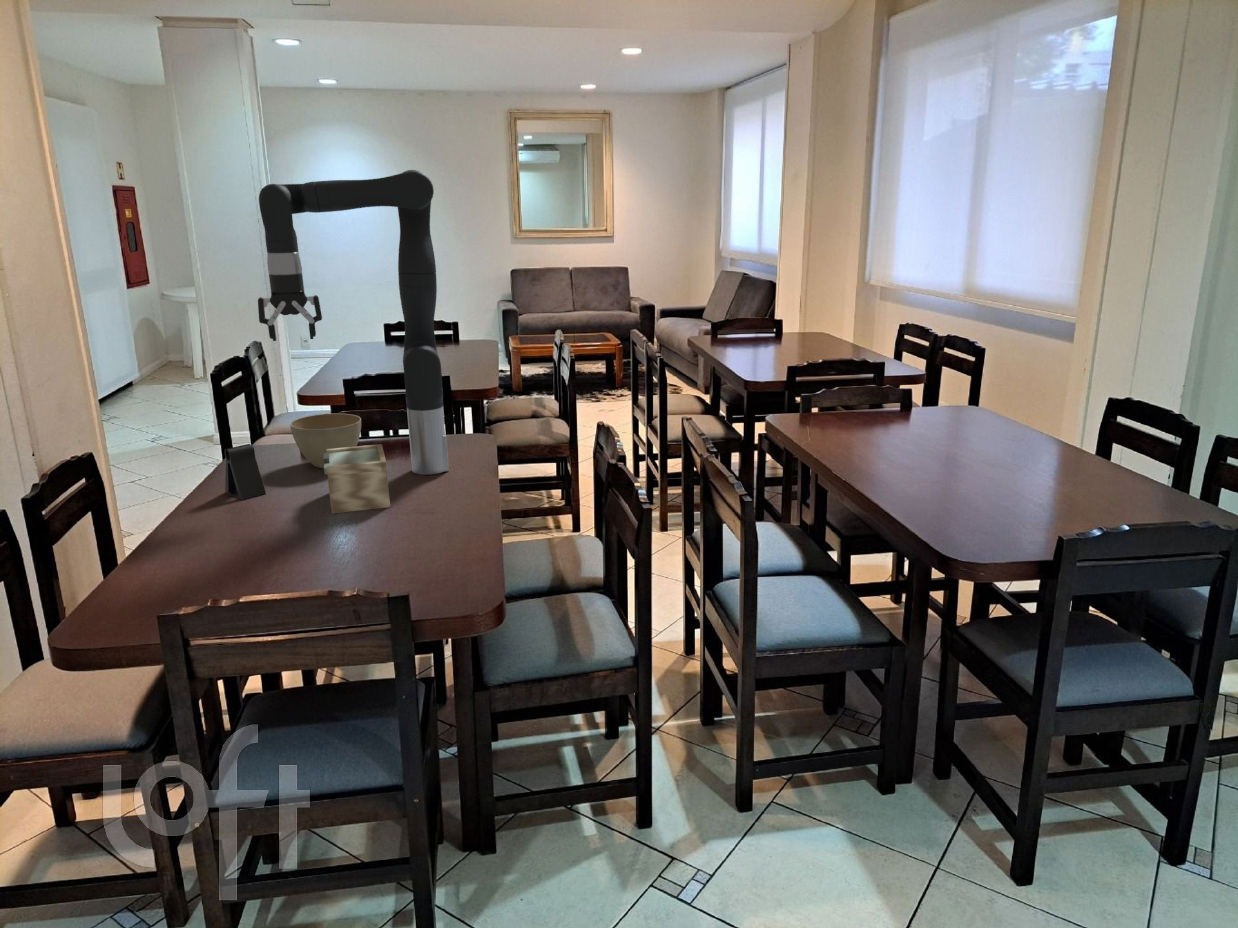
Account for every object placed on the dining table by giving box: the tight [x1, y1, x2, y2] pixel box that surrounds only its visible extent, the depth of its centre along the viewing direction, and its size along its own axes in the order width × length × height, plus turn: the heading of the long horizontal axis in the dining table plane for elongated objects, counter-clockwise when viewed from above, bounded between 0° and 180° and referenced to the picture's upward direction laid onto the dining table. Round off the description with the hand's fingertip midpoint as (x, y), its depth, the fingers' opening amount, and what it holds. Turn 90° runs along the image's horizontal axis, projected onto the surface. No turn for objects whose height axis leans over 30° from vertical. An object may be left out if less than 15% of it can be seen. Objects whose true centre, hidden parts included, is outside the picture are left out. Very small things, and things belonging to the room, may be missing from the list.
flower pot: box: [289, 413, 362, 469], centre depth 231 cm, size 18×18×12 cm
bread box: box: [323, 443, 391, 514], centre depth 203 cm, size 14×16×12 cm
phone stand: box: [224, 443, 267, 501], centre depth 208 cm, size 9×6×12 cm, turn 48°
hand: (293, 339), depth 208 cm, fingers open, 8 cm apart
